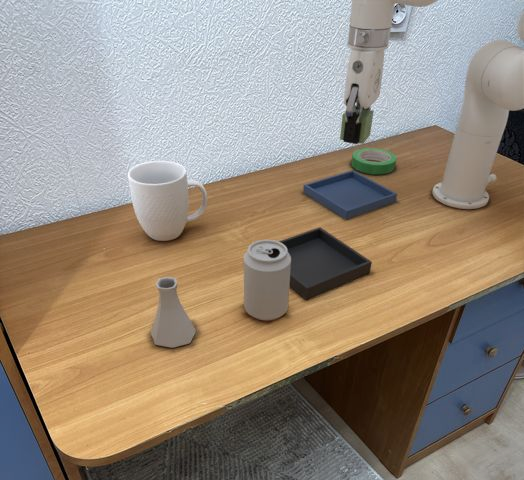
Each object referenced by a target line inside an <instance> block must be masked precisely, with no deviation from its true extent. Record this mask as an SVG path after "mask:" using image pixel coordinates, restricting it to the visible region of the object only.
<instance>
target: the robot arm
mask: <svg viewBox="0 0 524 480" xmlns="http://www.w3.org/2000/svg"><path fill="white" fill-rule="evenodd" d="M437 1H438V0H351V7H350V16H349V25H348V34H347V43H346V47H348V48H349V49H350V51H349V52H350V53H349V58H348V62H347V63H348V64H347V70H346V78H345V84H344V92H343V93H344V94H343V104H344V105H345V106H346V107H345V112H346V119H345V128H344V137H343V140H342V141H343V143H348V144H353V145H358V144H360V143H359V138H360V130H361V123H360V119H361V115H362V110H363V109H366V110H372V109H371V108H372V105H373V104H374V103H375V102H376V101H377V100H378V99H379V98H380V94H381V89H382V79H383V72H384V63H385V51H386V50H387V49H389V42H390V37H391V36H390V35H391V31H392V24H393V18H394V11H395V5H403V6H411V7H415V8H423V7H428V6H430V5H433V4H434V3H436V2H437ZM516 30H517V34H518V37H519V39H520V40H521V42H523V43H524V10H523V11H522V13H521V14H520V16H519V18H518V21H517V26H516ZM355 109H357V110H358V114H357V113H356V112H354V111H355ZM523 109H524V48H523V47H522V46H519V45H517V44H515V43H512V42H510V41H507V40H498V39H497V40H492V41H489V42H487V43H485V44H484V45H482V46H480V47H479V49H477V51H476V52H474V54H473V56H472V58H471V59H470V61H469V64H468V67H467V69H466V76H465V82H464V92H463V99H462V105H461V109H460V112H459V113H460V114H459V117H458V120H457V125H456V127H455V132H454V135H453V139H452V143H451V145H450V150H449V154H448V158H447V162H446V165H445V169H444V173H443V176H442V179H441V180H442V181H441V182H438V183H437V184H435V185H434V186H433V188H432V196H433V198H434V199H435V200H436V201H438V202H439V203H441V204H443V205H445V206H448V207H451V208H455V209H462V210H474V209H480V208H483V207H485V206H486V205H487V204H488V203H489V200H490V194H489V193H488V192H487V190H486V189H487V186H488V185H490V184H493V183H495V182H496V181H497V179H498V178H497V176H496V174H494V173H491V170H492V167H493V165H494V162H495V159H496V155H497V152H498V150H499V147H500V144H501V141H502V138H503V134H504V132H505V129H506V126H507V123H508V118H509V113H510V111H512V112H514V111H516V112H517V111H520V110H523Z"/></svg>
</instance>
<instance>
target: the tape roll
mask: <svg viewBox="0 0 524 480" xmlns="http://www.w3.org/2000/svg"><path fill="white" fill-rule="evenodd" d="M396 162H397V156H396V155H395V153H393V152H391V151H388V150H387V149H386V150H385V149H382V148H375V147H365V148H359V149H357V150H354V151H353V153H352V157H351V162H350V163H351V167H352V168H353V170H356V172H359V173H362V174H367V175H387V174H389V173H392V172H393V171H395V168H396Z"/></svg>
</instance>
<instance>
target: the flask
mask: <svg viewBox="0 0 524 480" xmlns="http://www.w3.org/2000/svg"><path fill="white" fill-rule="evenodd" d="M178 284H179V283H178V280H177V278H176V277H172V276H165V277H160V278H158V279H157V281H156V282H155V286H156V288H157V290H158V305H157V309H156V313H155V317H154V321H153V324H152V327H151V330H150V331H151V332H150V335H151V338H152V341H153V343H154V345H155V346H160V347H166V348H171V349H174V348H177V347H181V346H185V345H188V344H191V342H192V341H193V339H194V337H195V335H196V333H197V331H196V329H195V326H194V325H193V322H192V320H191V319H190V317H189V315H188V313H187V312H186V310H185V308H184V306H183V304H182V303H181V301H180V298H179V295H178V292H177V291H178V290H177V287H178V286H179V285H178Z"/></svg>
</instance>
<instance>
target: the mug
mask: <svg viewBox="0 0 524 480" xmlns="http://www.w3.org/2000/svg"><path fill="white" fill-rule="evenodd" d="M187 175H188V174H187V169H186V167H185V166H183V165H182V164H181V163H178V162H176V161H170V160H151V161H145V162H142V163H138V164H136V165H134V166H132V167H131V168H130V169H129V170H128V172H127V178H128V179H127V180H128V187H129V191H130V197H131V202H132V207H133V211H134V213H135V216H136V218H137V221H138V223H139V225H140V227H141V228H142V230H143V231H144V232H145V234H146V235H147V236H148V237H149V238H150V239H152V240H155V241H158V242H168V241H173V240H175V239H177V238H178V237H180V236H181V235H182V233H183V231H184V230H185V228H186V227H185V226H186V224H187V223H189V222H191V221H194V220H196V219H198V218H200V217H201V216H202V215H203V214H204V213H205V211H206V209H207V207H208V201H209V200H208V199H209V198H208V192H207V191H206V188H205V187H204V185H203V184H202V183H201V182H200V181H198V180H195V179H191V178H190V179H188V176H187ZM191 187H197V188H198V189H199V190H200V193H201V194H202V202H201V205H200V207H199V208H198V210H196V211H195V212H193V213H192V214H189V203H190V202H189V200H190V198H189V188H191Z"/></svg>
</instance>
